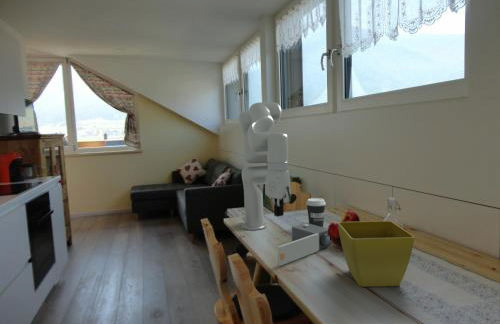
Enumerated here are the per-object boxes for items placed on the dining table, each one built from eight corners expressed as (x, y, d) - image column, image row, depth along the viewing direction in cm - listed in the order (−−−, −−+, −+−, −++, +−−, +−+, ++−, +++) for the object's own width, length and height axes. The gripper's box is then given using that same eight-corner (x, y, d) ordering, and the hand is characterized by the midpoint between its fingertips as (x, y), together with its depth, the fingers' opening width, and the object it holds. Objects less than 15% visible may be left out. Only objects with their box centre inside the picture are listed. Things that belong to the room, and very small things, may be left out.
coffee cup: (304, 231, 163) (303, 201, 161) (308, 226, 172) (308, 197, 170) (324, 233, 159) (324, 202, 158) (327, 227, 168) (327, 198, 167)
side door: (317, 249, 137) (316, 233, 136) (320, 250, 136) (320, 234, 135) (278, 265, 123) (277, 246, 122) (281, 266, 122) (280, 247, 121)
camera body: (292, 242, 148) (291, 225, 148) (306, 237, 154) (306, 221, 153) (320, 251, 136) (319, 233, 135) (334, 246, 141) (334, 228, 141)
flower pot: (337, 266, 121) (337, 221, 119) (390, 265, 120) (391, 220, 119) (351, 292, 102) (351, 238, 100) (415, 291, 101) (416, 237, 100)
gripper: (257, 166, 127) (258, 213, 129) (283, 169, 115) (284, 222, 117) (273, 164, 131) (274, 210, 133) (299, 167, 119) (300, 218, 121)
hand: (278, 215), depth 125 cm, fingers closed
